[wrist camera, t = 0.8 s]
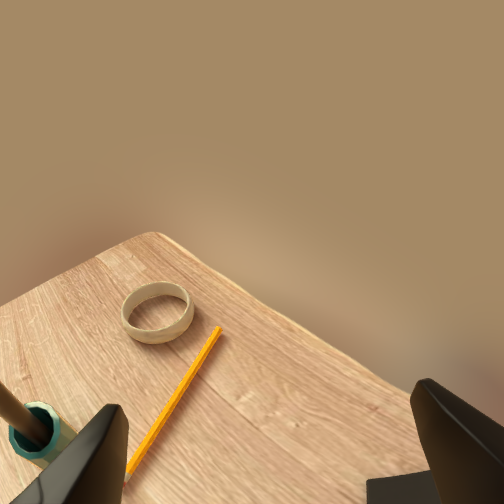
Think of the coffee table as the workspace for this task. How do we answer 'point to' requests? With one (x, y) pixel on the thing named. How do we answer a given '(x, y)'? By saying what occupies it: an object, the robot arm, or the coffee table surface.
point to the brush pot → (58, 442)
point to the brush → (23, 419)
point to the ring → (163, 333)
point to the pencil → (170, 405)
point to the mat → (403, 489)
